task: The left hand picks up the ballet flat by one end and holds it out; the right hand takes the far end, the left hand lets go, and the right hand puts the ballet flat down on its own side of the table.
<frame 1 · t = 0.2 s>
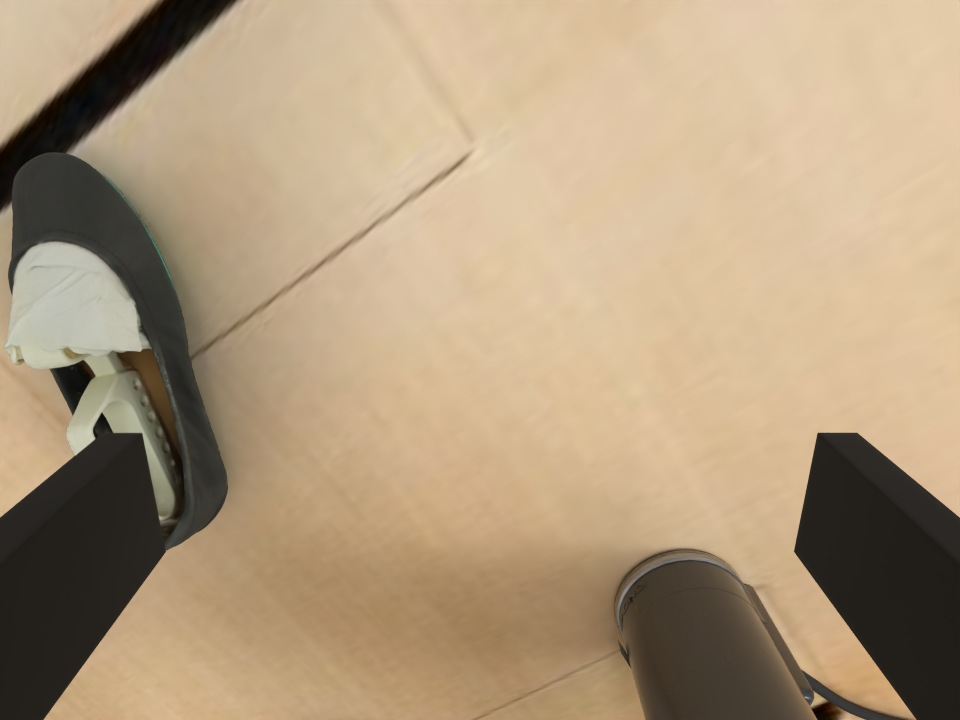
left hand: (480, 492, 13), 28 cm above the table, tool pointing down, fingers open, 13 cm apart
ballet flat: (150, 346, 41), on the table
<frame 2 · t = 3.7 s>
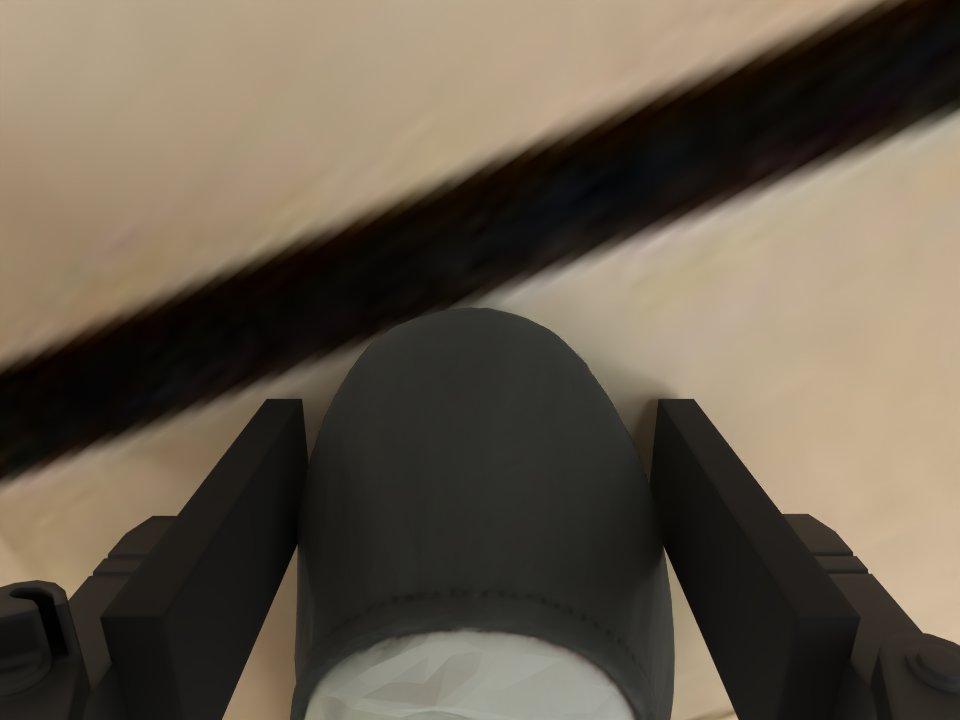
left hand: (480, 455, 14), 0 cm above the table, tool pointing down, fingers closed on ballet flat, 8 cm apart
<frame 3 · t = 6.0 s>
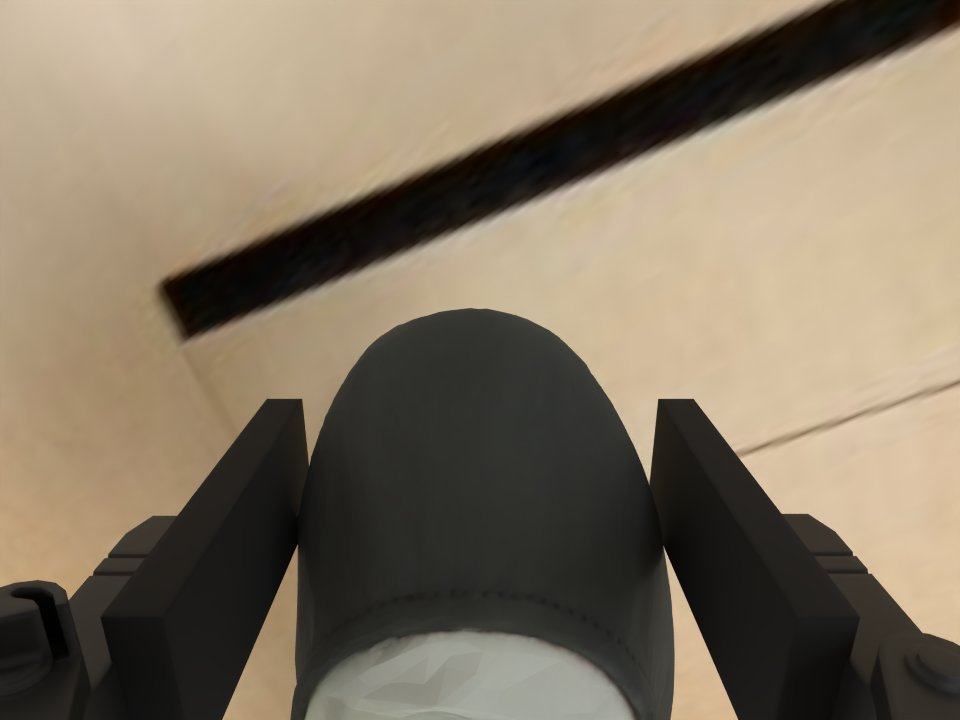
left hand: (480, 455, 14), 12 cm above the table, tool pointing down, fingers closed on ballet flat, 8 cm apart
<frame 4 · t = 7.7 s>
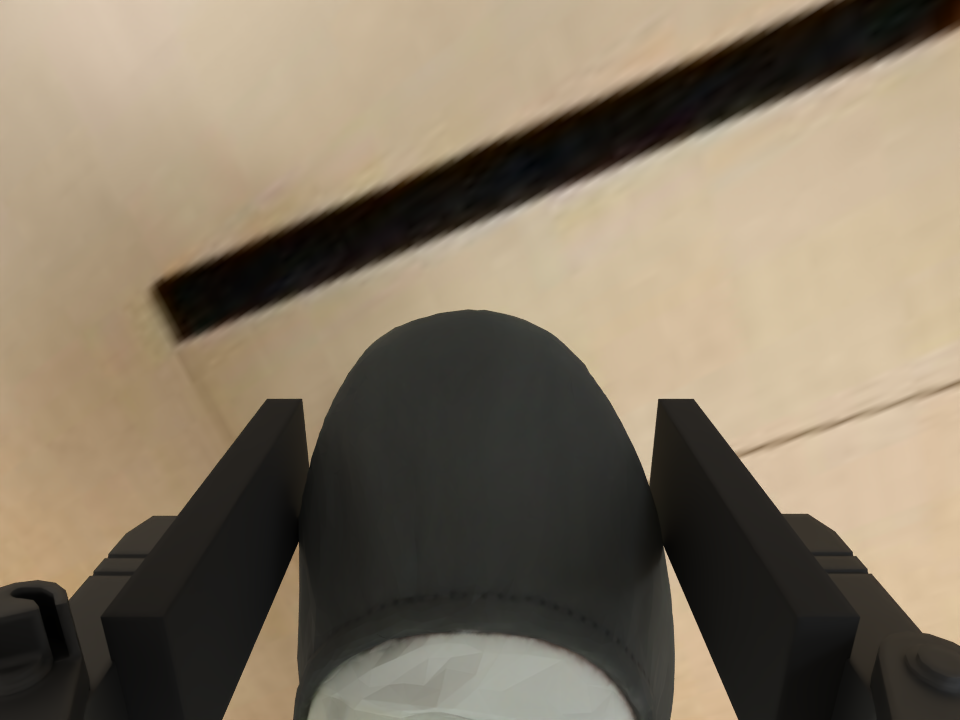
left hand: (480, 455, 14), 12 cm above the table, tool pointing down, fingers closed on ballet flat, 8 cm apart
ballet flat: (487, 718, 18), point 11 cm above the table, touching left hand, right hand
when the left hand's fingers open (12 cm above the table, at t = 8.7 s): ballet flat stays where it is, held by the right hand.
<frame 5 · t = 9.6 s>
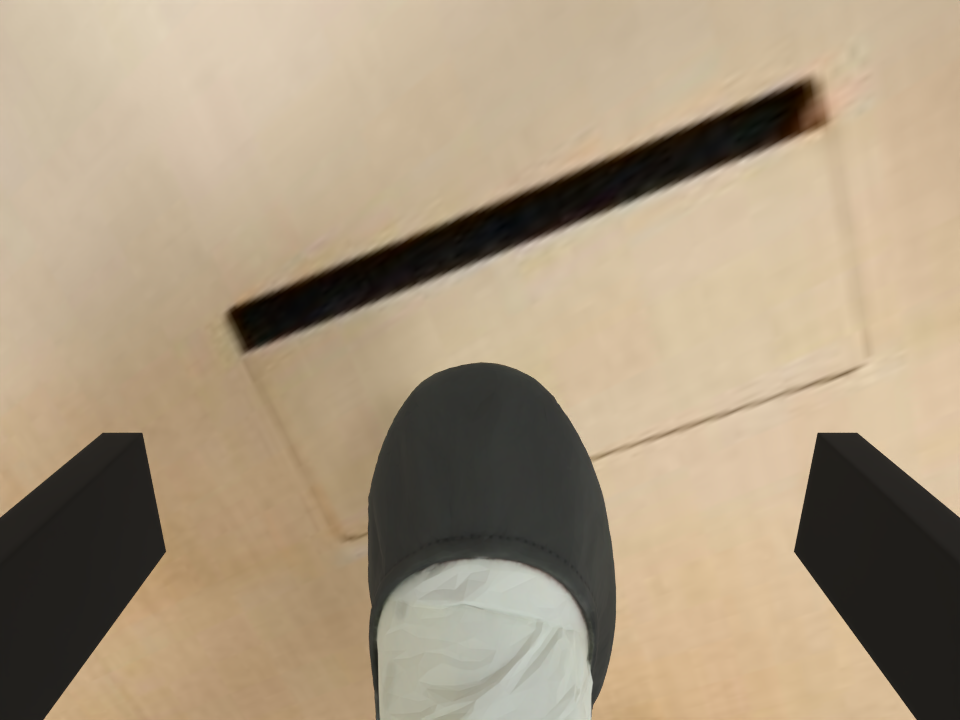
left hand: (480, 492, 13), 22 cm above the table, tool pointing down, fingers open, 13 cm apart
ballet flat: (490, 646, 25), point 14 cm above the table, touching right hand
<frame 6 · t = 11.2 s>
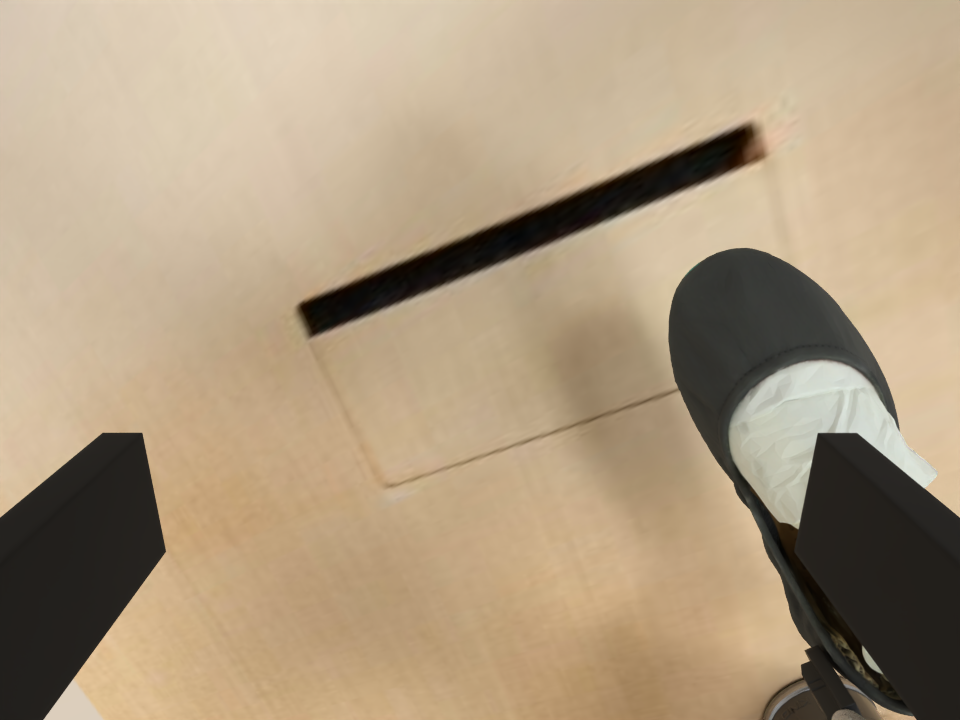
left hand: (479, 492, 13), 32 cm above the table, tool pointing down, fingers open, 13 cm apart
ballet flat: (800, 453, 33), point 14 cm above the table, touching right hand
when the right hand's fingers open (5 cm above the table, at t = 14.8 s): ballet flat drops 1 cm, on the table.
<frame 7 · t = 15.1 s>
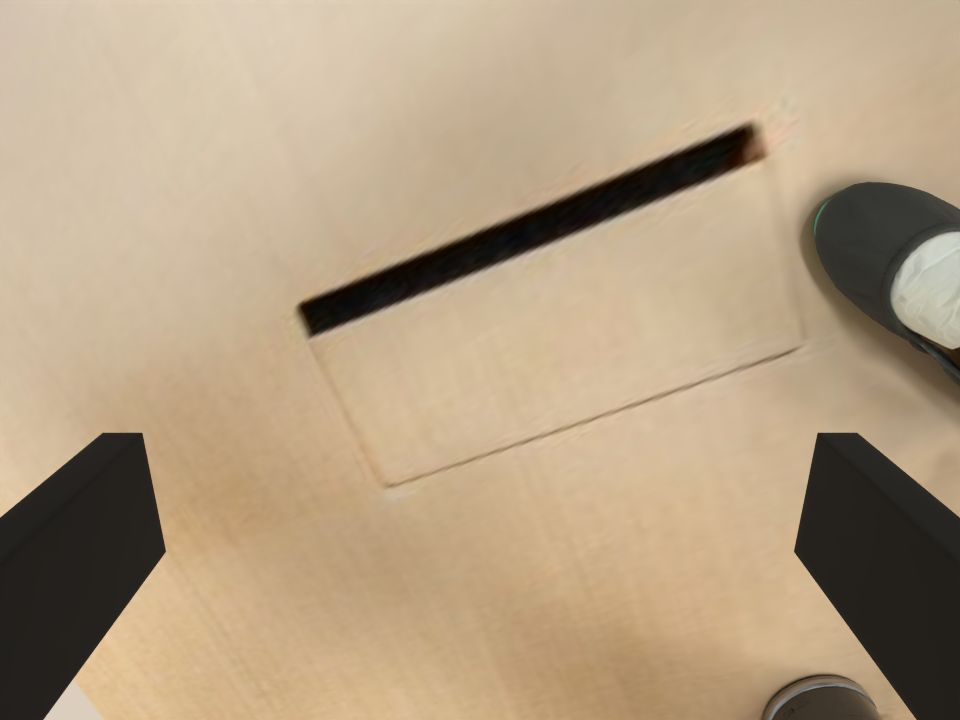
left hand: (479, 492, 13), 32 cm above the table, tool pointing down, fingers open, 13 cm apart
ballet flat: (945, 302, 44), on the table
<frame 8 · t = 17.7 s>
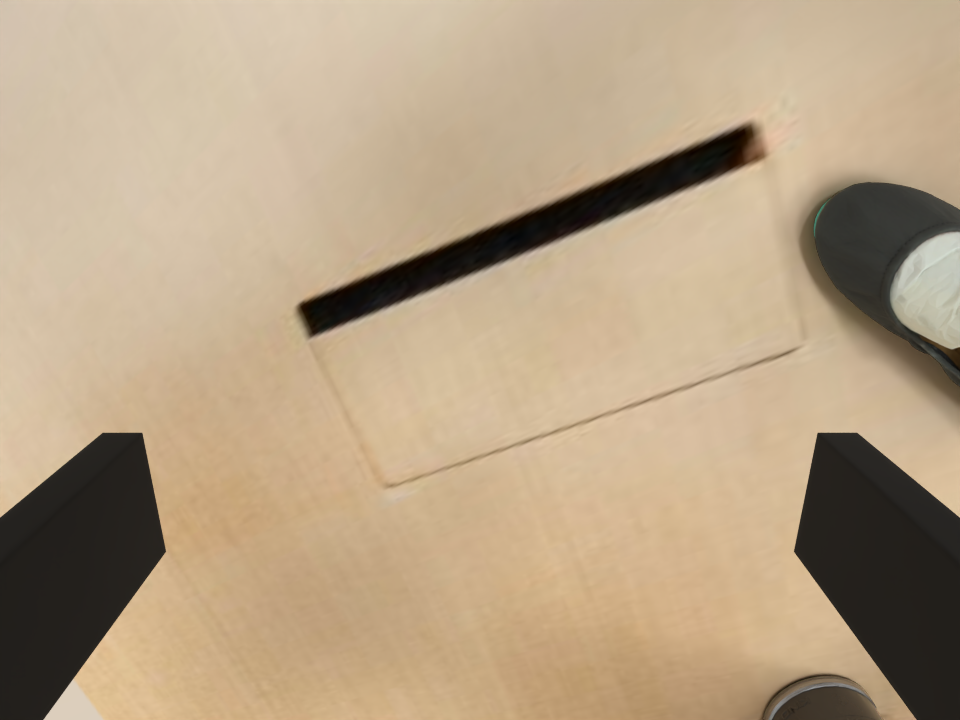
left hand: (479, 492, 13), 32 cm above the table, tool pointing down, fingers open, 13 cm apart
ballet flat: (945, 302, 44), on the table
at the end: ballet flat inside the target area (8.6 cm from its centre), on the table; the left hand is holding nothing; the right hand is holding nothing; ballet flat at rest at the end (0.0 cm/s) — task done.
